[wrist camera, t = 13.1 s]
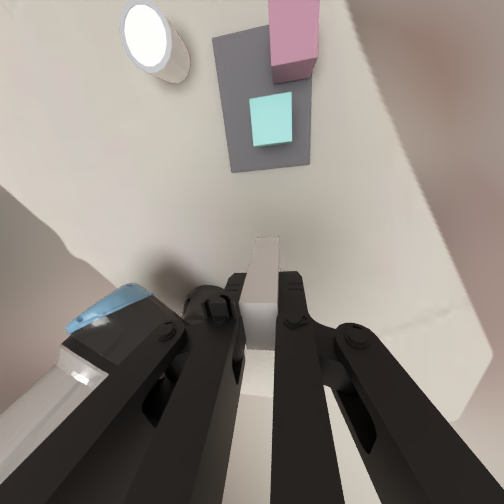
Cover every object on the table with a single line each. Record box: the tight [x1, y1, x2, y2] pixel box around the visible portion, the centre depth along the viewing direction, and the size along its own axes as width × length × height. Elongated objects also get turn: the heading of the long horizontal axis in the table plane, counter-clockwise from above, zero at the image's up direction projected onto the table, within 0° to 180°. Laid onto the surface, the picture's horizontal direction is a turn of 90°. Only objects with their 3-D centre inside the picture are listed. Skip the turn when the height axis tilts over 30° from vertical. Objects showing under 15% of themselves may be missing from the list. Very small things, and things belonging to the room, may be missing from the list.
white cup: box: [119, 0, 190, 83], centre depth 27 cm, size 7×7×7 cm
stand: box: [212, 0, 320, 173], centre depth 27 cm, size 14×18×9 cm
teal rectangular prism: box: [249, 92, 292, 147], centre depth 28 cm, size 5×5×7 cm
